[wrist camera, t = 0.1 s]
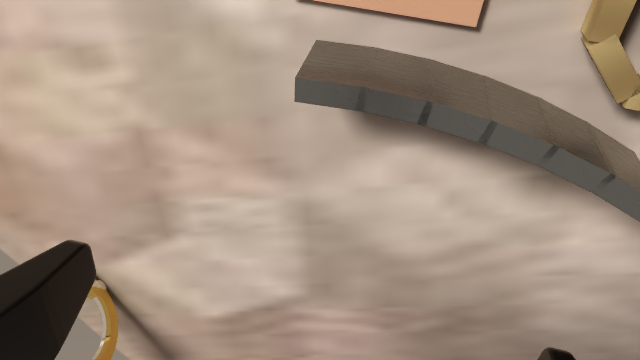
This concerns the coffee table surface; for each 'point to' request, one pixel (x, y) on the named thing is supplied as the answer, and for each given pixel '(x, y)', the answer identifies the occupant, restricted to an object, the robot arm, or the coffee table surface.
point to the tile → (423, 9)
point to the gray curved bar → (471, 114)
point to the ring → (105, 320)
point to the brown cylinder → (612, 49)
